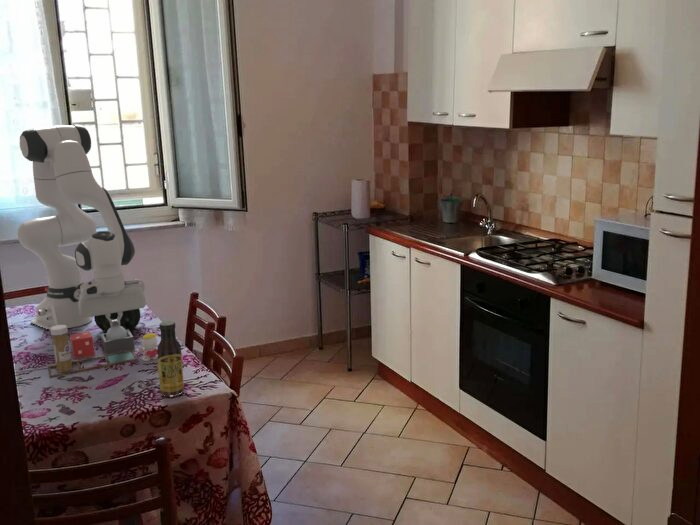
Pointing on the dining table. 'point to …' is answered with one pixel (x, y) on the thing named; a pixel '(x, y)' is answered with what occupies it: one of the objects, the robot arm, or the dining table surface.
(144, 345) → the toy figures
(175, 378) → the sauce bottle
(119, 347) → the dome housing
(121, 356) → the wooden frame
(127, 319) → the squash
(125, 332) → the dome
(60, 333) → the sprinkles bottle
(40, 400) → the dining table surface
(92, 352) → the red die
